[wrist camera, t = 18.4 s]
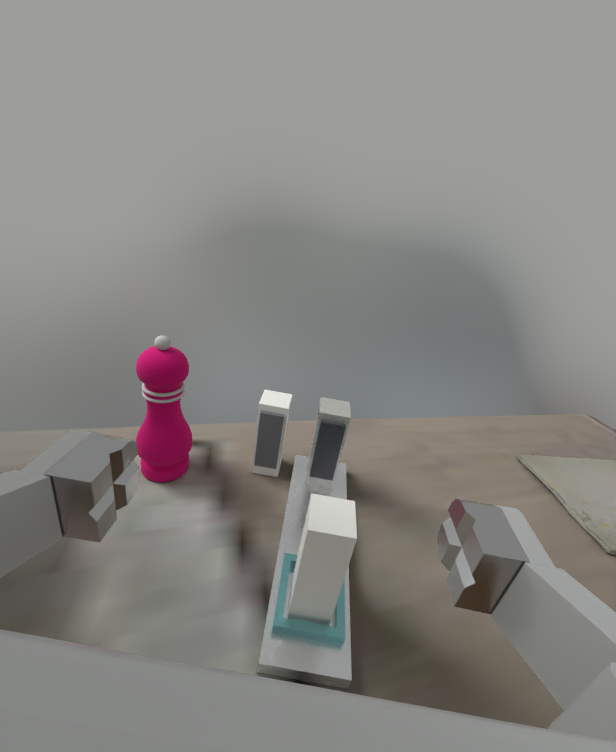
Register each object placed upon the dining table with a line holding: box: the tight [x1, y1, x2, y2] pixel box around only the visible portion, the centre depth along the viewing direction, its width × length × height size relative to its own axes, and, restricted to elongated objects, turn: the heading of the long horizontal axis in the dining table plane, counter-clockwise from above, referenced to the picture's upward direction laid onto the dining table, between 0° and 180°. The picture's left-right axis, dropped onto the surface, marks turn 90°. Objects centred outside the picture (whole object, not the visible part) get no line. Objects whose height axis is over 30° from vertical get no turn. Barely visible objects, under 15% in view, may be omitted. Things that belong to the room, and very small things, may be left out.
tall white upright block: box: [288, 493, 357, 626], centre depth 33 cm, size 4×5×12 cm
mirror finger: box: [251, 390, 292, 477], centre depth 51 cm, size 4×5×12 cm
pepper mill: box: [136, 336, 193, 482], centre depth 46 cm, size 7×7×20 cm
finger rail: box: [257, 397, 352, 689], centre depth 40 cm, size 8×28×14 cm, turn 176°
